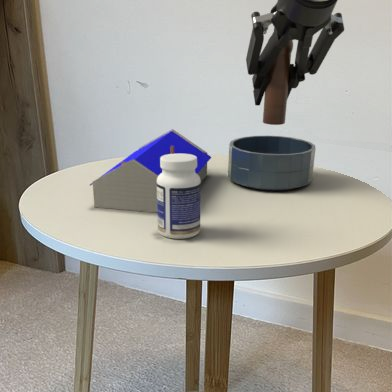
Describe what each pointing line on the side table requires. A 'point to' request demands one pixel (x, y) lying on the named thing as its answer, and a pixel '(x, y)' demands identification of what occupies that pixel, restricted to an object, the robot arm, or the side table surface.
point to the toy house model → (143, 174)
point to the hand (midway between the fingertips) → (269, 98)
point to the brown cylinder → (278, 88)
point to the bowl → (271, 162)
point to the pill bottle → (178, 196)
